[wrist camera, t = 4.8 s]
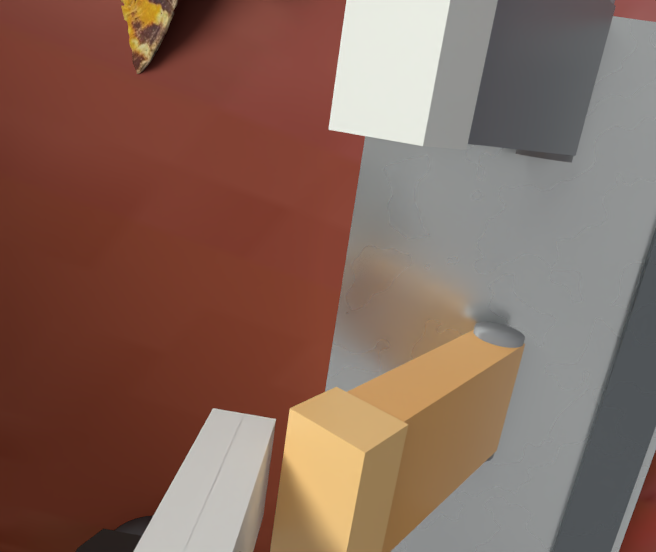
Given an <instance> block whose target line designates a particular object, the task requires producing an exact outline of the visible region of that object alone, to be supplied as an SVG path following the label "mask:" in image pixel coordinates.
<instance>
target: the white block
mask: <svg viewBox="0 0 656 552" xmlns="http://www.w3.org/2000/svg"><path fill="white" fill-rule="evenodd" d="M614 2H615V0H347V1H346V8H345V15H344V22H343V29H342V37H341V44H340V51H339V58H338V66H337V73H336V80H335V87H334V94H333V102H332V109H331V116H330V123H329V130H334V131H340V132H345V133H351V134H357V135H363V136H368V137H374V138H380V139H385V140H391V141H397V142H402V143H408V144H414V145H419V146H427V147H438V148H449V149H461V150H466V149H467V144H473V145H482V146H491V147H500V148H509V149H516V153H515V154H519V155H525V156H530V157H536V158H543V159H549V160H556V161H563V162H572V160H573V156H576V152H577V149H578V145H579V141H580V137H581V134H582V130H583V126H584V122H585V119H586V115H587V111H588V107H589V104H590V100H591V96H592V93H593V89H594V85H595V81H596V78H597V74H598V70H599V66H600V63H601V59H602V55H603V51H604V48H605V44H606V40H607V36H608V33H609V29H610V25H611V21H612V18H613V14H614V10H615V5H614Z"/></svg>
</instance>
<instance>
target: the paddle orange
mask: <svg viewBox="0 0 656 552" xmlns="http://www.w3.org/2000/svg"><path fill="white" fill-rule="evenodd" d="M524 340H525V336H524V335H523V334H522V333H521V332H520V331H518V330H516V329H514V328H512V327H509V326H506V325H502V324H498V323H492V322H480V323H477V324H475V327H474V330H472V331H470V332H468V333H466V334H464V335H462V336H460V337H458V338H456V339H454V340H452V341H450V342H448V343H446V344H444V345H442V346H440V347H437V348H435V349H433V350H431V351H429V352H427V353H425V354H423V355H421V356H419V357H417V358H415V359H413V360H411V361H409V362H407V363H405V364H403V365H401V366H399V367H397V368H394V369H392V370H390V371H388V372H386V373H384V374H382V375H380V376H378V377H376V378H374V379H372V380H370V381H368V382H366V383H364V384H362V385H360V386H358V387H356V388H354V389H352V390H349V391H347V392H346V391H344V390H342V389H340V388H338V387H335V388H333V389H330V390H328V391H326V392H324V393H322V394H320V395H317V396H315V397H313V398H311V399H309V400H307V401H305V402H302V403H300V404H298V405H296V406H294V407H292V408H290V411H289V419H288V426H287V433H286V440H285V447H284V455H283V462H282V469H281V476H280V483H279V491H278V498H277V505H276V512H275V519H274V527H273V534H272V541H271V548H270V552H390V551H391V550H392V549H394V548H395V547H396V546H397V545H398V544H399V543H400V542H401V541H402V540H403V539H404V538H405V537H406V536H407V535H408V534H409V533H410V532H411V531H413V530H414V529H415V528H416V527H417V526H418V525H419V524H420V523H421V522H422V521H423V520H424V519H425V518H426V517H427V516H428V515H429V514H430V513H431V512H433V511H434V510H435V509H436V508H437V507H438V506H439V505H440V504H441V503H442V502H443V501H444V500H445V499H446V498H447V497H448V496H449V495H450V494H451V493H453V492H454V491H455V490H456V489H457V488H458V487H459V486H460V485H461V484H462V483H463V482H464V481H465V480H466V479H467V478H468V477H469V476H470V475H472V474H473V473H474V472H475V471H476V470H477V469H478V468H479V467H480V466H481V465H482V464H483V463H484V462H487V461H489V460H491V459H492V458H493V457H494V453H495V452H496V451H497V448H498V444H499V441H500V437H501V433H502V429H503V426H504V422H505V418H506V414H507V411H508V407H509V403H510V399H511V396H512V392H513V388H514V384H515V381H516V377H517V373H518V369H519V366H520V362H521V358H522V354H523V351H524V347H525V344H524Z"/></svg>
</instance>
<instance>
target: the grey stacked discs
mask: <svg viewBox="0 0 656 552" xmlns="http://www.w3.org/2000/svg"><path fill="white" fill-rule="evenodd" d="M152 517H153V516H145V517H141V518H137V519H134V520H131V521H128V522H126V523H125V524H123V525H121V526H120V527H118V528H117V529H116V530H114V531H118V532H124V533H129V534H135V535H140V536H142V535H143V534H144V532H145V530H146V528H147V526H148V525H149V523H150V521H151V519H152Z"/></svg>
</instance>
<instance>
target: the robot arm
mask: <svg viewBox="0 0 656 552" xmlns="http://www.w3.org/2000/svg"><path fill="white" fill-rule="evenodd" d="M275 423H276V419H272V418H266V417H261V416H255V415H249V414H243V413H238V412H232V411H226V410H220V409H214V408H213V409H212V411H211V413H210V415H209V417H208V418H207V420H206V422H205V424H204V426H203V427H202V429H201V431H200V433H199V435H198V436H197V438H196V440H195V442H194V444H193V445H192V447H191V449H190V451H189V453H188V454H187V456H186V458H185V460H184V462H183V463H182V465H181V467H180V469H179V471H178V472H177V474H176V476H175V478H174V480H173V481H172V483H171V485H170V487H169V489H168V490H167V492H166V494H165V496H164V498H163V499H162V501H161V503H160V505H159V507H158V508H157V510H156V512H155V514H154V516H153V517H152V519H151V521H150V523H149V525H148V526H147V528H146V530H145V532H144V534H143V535H142V536H140V535H135V534H129V533H124V532H118V531H113V530H107V529H103V530H101V531H100V532H99V533H97V534H96V535H95V536H93V537H92V538H91V539H89V540H88V541H87V542H85V543H84V544H83V545H81V546H80V547H79V548H78V549H77V550H76V551H75V552H253V550H254V547H255V543H256V540H257V536H258V533H259V529H260V525H261V522H262V518H263V514H264V506H265V499H266V491H267V484H268V476H269V469H270V461H271V454H272V446H273V439H274V431H275Z"/></svg>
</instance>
